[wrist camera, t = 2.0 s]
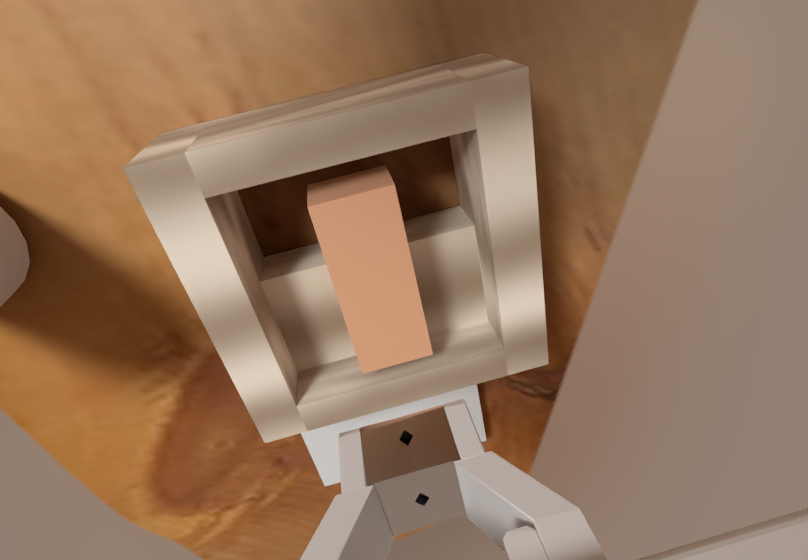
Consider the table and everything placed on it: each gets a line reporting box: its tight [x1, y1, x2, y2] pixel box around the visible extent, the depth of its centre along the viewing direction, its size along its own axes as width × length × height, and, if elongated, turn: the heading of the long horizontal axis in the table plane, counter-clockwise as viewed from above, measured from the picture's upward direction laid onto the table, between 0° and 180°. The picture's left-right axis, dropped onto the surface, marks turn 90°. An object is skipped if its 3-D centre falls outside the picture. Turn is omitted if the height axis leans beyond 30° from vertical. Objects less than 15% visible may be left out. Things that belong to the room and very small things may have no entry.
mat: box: [301, 384, 487, 486], centre depth 37 cm, size 9×13×1 cm
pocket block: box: [123, 53, 549, 443], centre depth 27 cm, size 16×17×6 cm
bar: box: [307, 165, 433, 374], centre depth 26 cm, size 10×4×3 cm, turn 12°
